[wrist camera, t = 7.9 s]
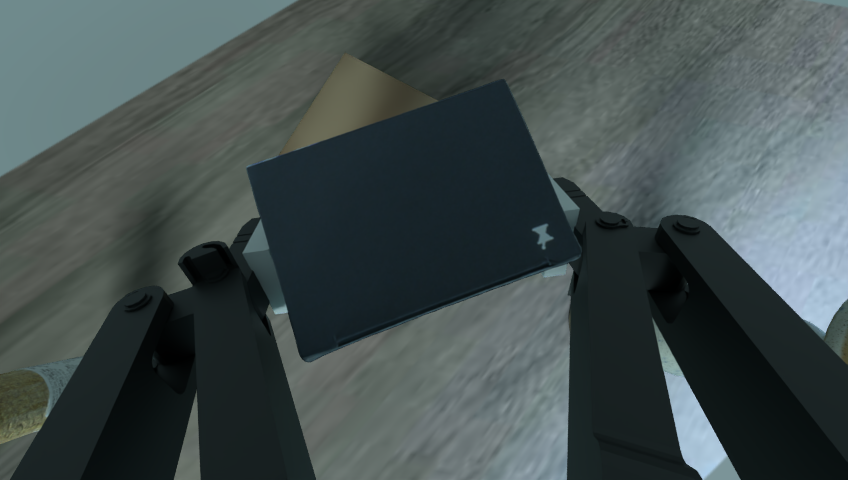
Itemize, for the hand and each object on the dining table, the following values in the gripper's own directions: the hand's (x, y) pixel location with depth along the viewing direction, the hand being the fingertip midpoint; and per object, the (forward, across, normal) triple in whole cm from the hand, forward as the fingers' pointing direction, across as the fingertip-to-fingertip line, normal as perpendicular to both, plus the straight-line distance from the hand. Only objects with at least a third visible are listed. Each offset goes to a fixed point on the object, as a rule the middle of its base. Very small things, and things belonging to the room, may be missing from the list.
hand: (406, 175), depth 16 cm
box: (0, 0, -5) cm, 5 cm away
